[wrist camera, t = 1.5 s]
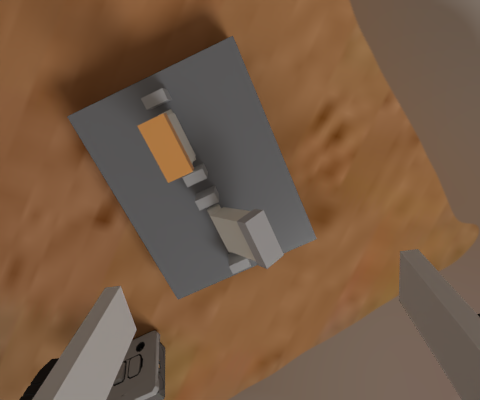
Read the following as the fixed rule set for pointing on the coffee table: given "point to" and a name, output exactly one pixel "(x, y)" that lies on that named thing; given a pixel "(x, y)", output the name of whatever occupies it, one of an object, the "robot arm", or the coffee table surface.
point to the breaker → (247, 234)
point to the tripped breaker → (168, 145)
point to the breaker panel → (195, 165)
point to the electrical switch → (141, 371)
